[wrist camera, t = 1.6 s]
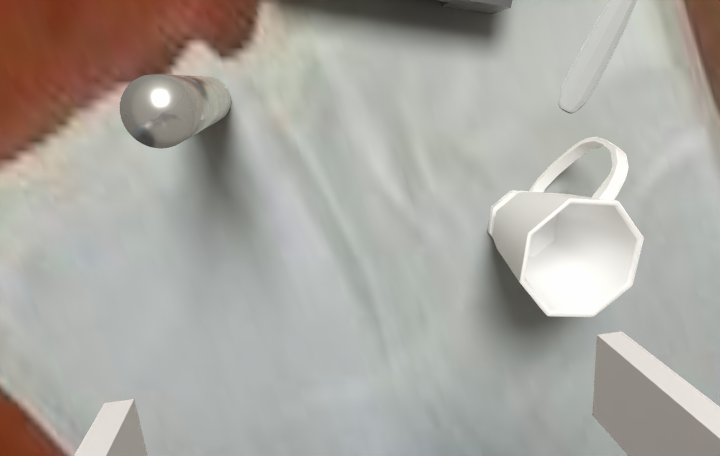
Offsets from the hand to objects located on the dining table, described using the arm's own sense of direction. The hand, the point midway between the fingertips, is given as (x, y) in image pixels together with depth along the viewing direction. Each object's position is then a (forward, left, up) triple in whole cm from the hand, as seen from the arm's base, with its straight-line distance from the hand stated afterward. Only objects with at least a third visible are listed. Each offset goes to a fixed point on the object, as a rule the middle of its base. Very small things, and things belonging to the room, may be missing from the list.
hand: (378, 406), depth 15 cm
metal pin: (-8, +7, -19) cm, 22 cm away
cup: (+13, +3, -20) cm, 24 cm away
